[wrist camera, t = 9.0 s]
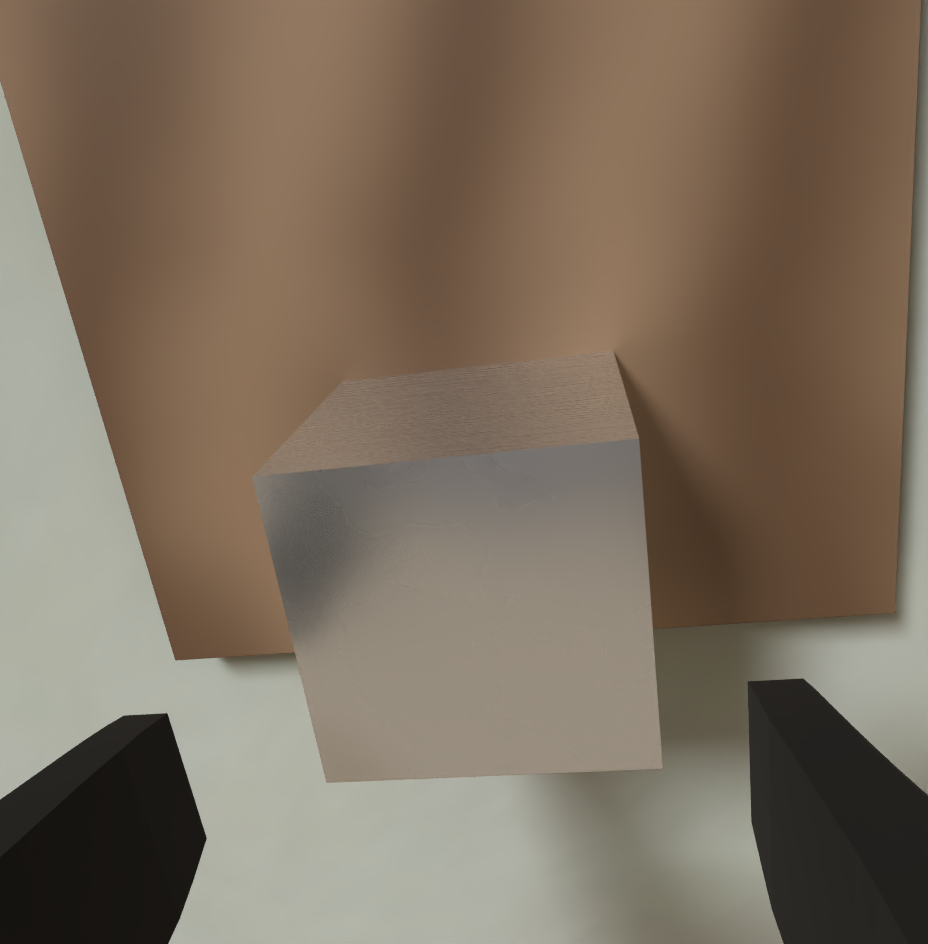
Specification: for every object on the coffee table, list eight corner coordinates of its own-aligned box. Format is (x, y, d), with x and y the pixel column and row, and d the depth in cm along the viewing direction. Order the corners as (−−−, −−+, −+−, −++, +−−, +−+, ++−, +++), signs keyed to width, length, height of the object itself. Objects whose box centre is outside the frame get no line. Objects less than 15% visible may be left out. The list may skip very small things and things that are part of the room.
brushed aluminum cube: (613, 350, 16) (639, 437, 11) (632, 597, 18) (662, 768, 13) (342, 381, 17) (252, 476, 12) (387, 615, 18) (326, 782, 14)
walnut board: (898, -171, 14) (1089, -352, 9) (874, 585, 18) (988, 739, 13) (13, 2, 16) (-223, -65, 11) (195, 633, 21) (85, 778, 16)
